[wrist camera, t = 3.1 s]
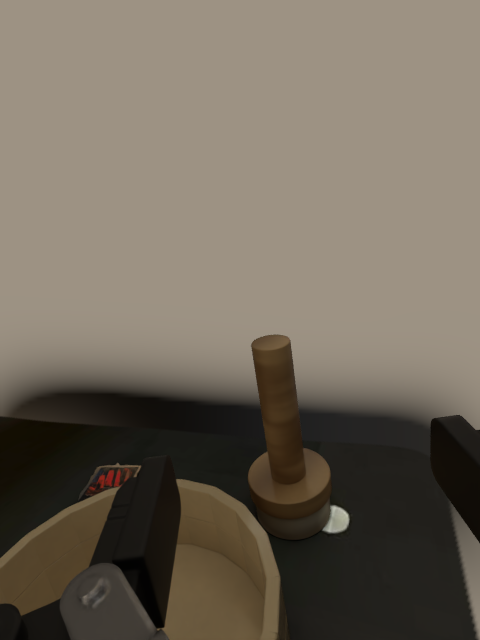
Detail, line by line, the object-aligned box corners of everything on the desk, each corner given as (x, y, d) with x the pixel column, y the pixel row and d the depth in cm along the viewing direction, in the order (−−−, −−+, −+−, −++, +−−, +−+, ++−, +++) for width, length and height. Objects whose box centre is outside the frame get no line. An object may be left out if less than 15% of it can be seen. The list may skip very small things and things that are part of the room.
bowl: (355, 647, 18) (348, 566, 17) (41, 1197, 9) (-43, 1134, 7) (169, 509, 28) (154, 449, 26) (-72, 703, 19) (-119, 629, 17)
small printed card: (73, 517, 28) (71, 512, 28) (92, 469, 33) (90, 465, 33) (139, 505, 29) (137, 499, 28) (148, 459, 33) (146, 454, 33)
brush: (349, 501, 26) (335, 331, 22) (303, 558, 23) (277, 370, 19) (285, 471, 30) (264, 320, 26) (238, 517, 26) (205, 351, 23)
